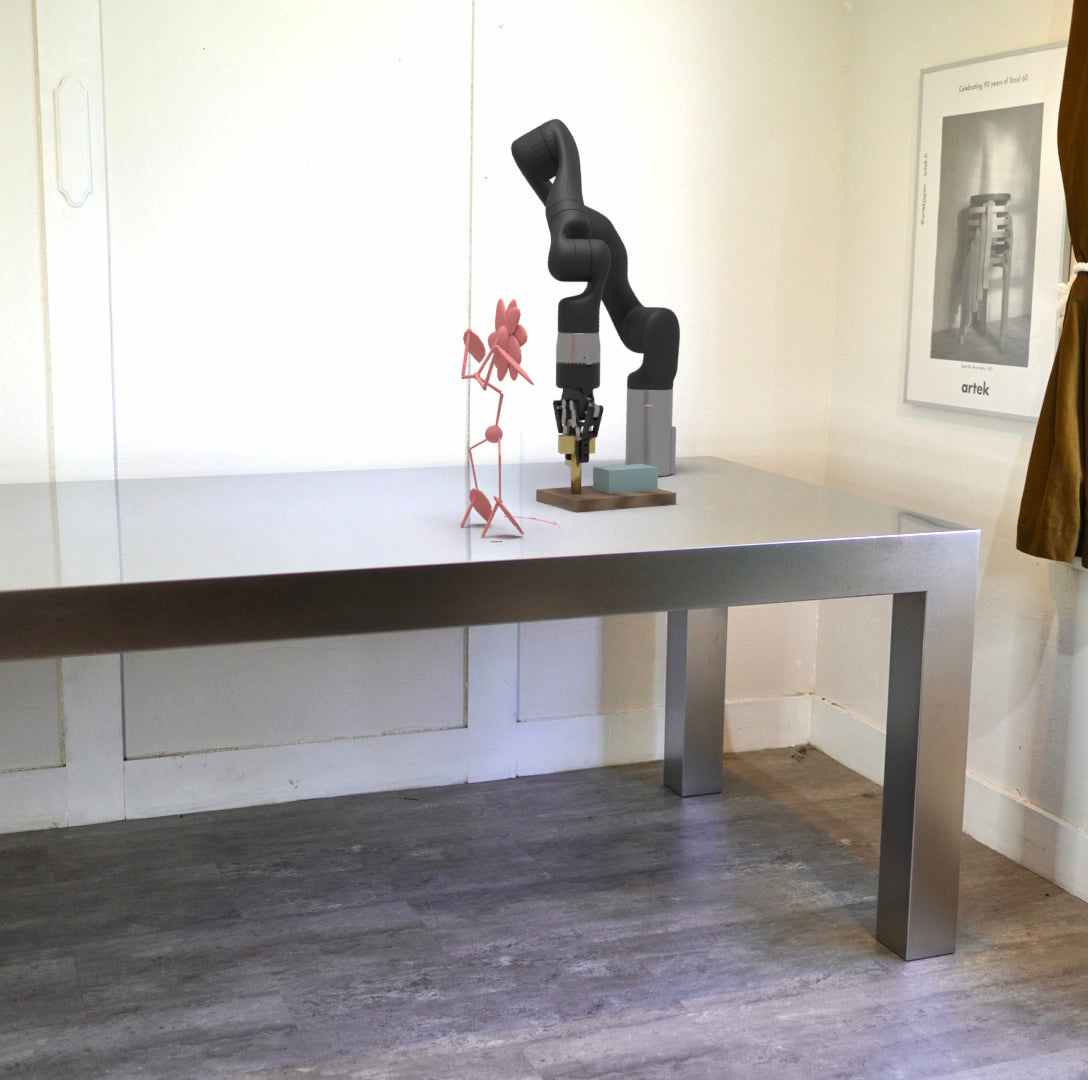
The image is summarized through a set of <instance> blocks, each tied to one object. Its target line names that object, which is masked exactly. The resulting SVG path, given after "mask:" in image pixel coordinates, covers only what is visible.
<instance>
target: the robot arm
mask: <svg viewBox="0 0 1088 1080" xmlns="http://www.w3.org/2000/svg"><path fill="white" fill-rule="evenodd" d="M510 151H511V155H512V158H513V160H514V162H515V164H516V166H517V168H518V169H519V171H520V173H521V174H522V176H523V177H524V179H525V180H526V181H527V183H528V185H529V187H530V188H531V189H532V190H533V192H534V193H535V195H536V196H537V197H538V199H539V200H540V202H541V203H542V205H543V207H545V212H544V213H545V219H546V223H547V227H548V231H549V235H550V245H549V250H548V255H547V256H548V257H547V269H548V272H549V274H550V275H551V277H552V278H553V279H554V280H556V281H558V282H562V283H563V282H564V283H587V284H586V286H585V289H584V290H583V292H581V293H580V294H576V295H571V296H567V297H564V298H562V299H560V300H559V302H558V306H557V337H556V345H555V386H556V388H558V389H561V390H562V392H561V398H560V399H559V400H558V399H554V400H553V401H552V407H553V412H554V418H555V421H556V422H555V423H556V427H557V432H558V434H561V435H576V438H577V441H576V462H578V463H582V464H587V463H589V462H590V454H589V442H590V440H592V438H595V439H596V438H598V435H599V431H600V427H601V422H602V417H603V414H604V406H603V405H599V404H597V403H596V402H595V395H594V390H596V389H598V388H600V387H601V340H600V339H601V338H600V312H601V310H600V309H601V303H602V304H603V306H604V307H605V310H606V312H607V314H608V315H609V318H610V320H611V323H612V325H613V327H614V329H615V331H616V333H617V336H618V337H619V339H620V341H621V342H622V344H623V345H624V346H625V348H626V349H627V350H629V351H630V352H632V353H636V354H640V355H642V354H643V355H642V357H643V358H642V362H641V365H640V366H639V367H638V368H637V369H636V370H634V371H632V372H630V373H629V374H628V375H627V377H626V414H625V415H626V417H625V418H626V420H625V421H626V424H625V462H624V465H631V464H645V465H649V466H654V467H658V477H665V476H669V475H675V474H676V448H677V428H676V426H673V403H674V401H673V400H674V399H673V398H674V382H675V379H676V376H677V374H678V367H679V354H680V341H681V330H680V322H679V319H678V316H677V315H676V314H675V312H674V311H673V310H672V309H670V308H667V307H661V306H659V307H658V306H657V307H655V306H645V305H644V304H642V302H641V301H640V300H639V298H638V297H637V296H636V294H635V292H634V290H633V289H632V287H631V284H630V281H629V275H628V274H629V273H628V272H629V268H628V267H629V258H628V257H629V256H628V251H627V248H626V246H625V244H624V242H623V239H622V238H621V237H620V235H619V233H618V231H617V229H616V227H615V226H614V224H613V223H612V221H611V220H610V219H609V218H608V217H607V216H606V215H604V214H603V213H601V212H600V211H598V210H595V209H594V208H592V207H589V206H587V205H585V202H584V195H583V186H582V185H583V184H582V183H583V182H582V170H581V169H582V168H581V159H580V158H581V157H580V152H579V148H578V146H577V142H576V140H575V138H574V135H573V134H572V132H571V131H570V129H569V127H568V126H567V125H566V124H565V123H564V122H563V120H561V119H558V118H553V119H550V120H547V121H545V122H543V123H542V124H540V125H538V126H537V127H535V128H533V129H531V130H530V131H528V132H526V133H524V134H523V135H521V136H519V137H518V138H516V139H514V141H512V143H511V146H510ZM553 178H554V179H553ZM552 179H553V180H554V181H553V183H552V181H551V180H552ZM564 459H565V460H571V454H564Z"/></svg>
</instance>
